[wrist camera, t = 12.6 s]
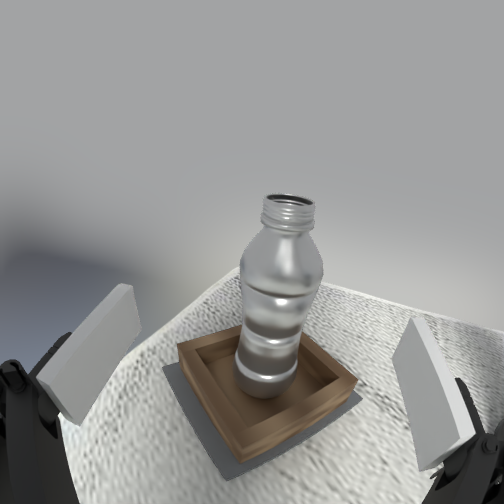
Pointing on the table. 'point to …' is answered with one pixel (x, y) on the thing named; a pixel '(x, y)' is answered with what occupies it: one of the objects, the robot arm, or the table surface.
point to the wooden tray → (256, 409)
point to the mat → (215, 442)
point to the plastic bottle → (276, 295)
